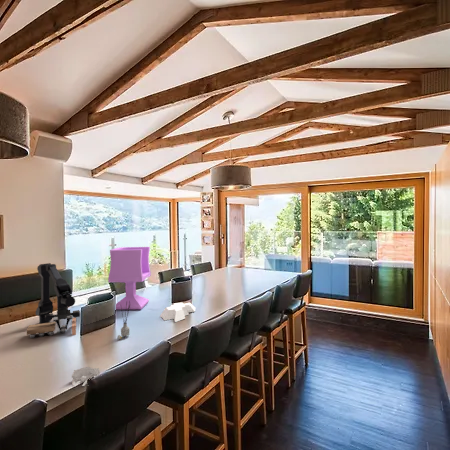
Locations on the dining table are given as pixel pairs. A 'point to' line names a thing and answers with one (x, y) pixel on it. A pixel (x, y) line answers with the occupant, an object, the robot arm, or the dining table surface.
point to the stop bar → (74, 326)
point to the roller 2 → (50, 333)
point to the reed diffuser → (124, 325)
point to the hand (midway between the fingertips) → (63, 329)
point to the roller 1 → (32, 335)
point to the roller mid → (41, 334)
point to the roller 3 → (63, 328)
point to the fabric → (84, 375)
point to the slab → (41, 328)
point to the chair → (130, 273)
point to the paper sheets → (177, 311)
